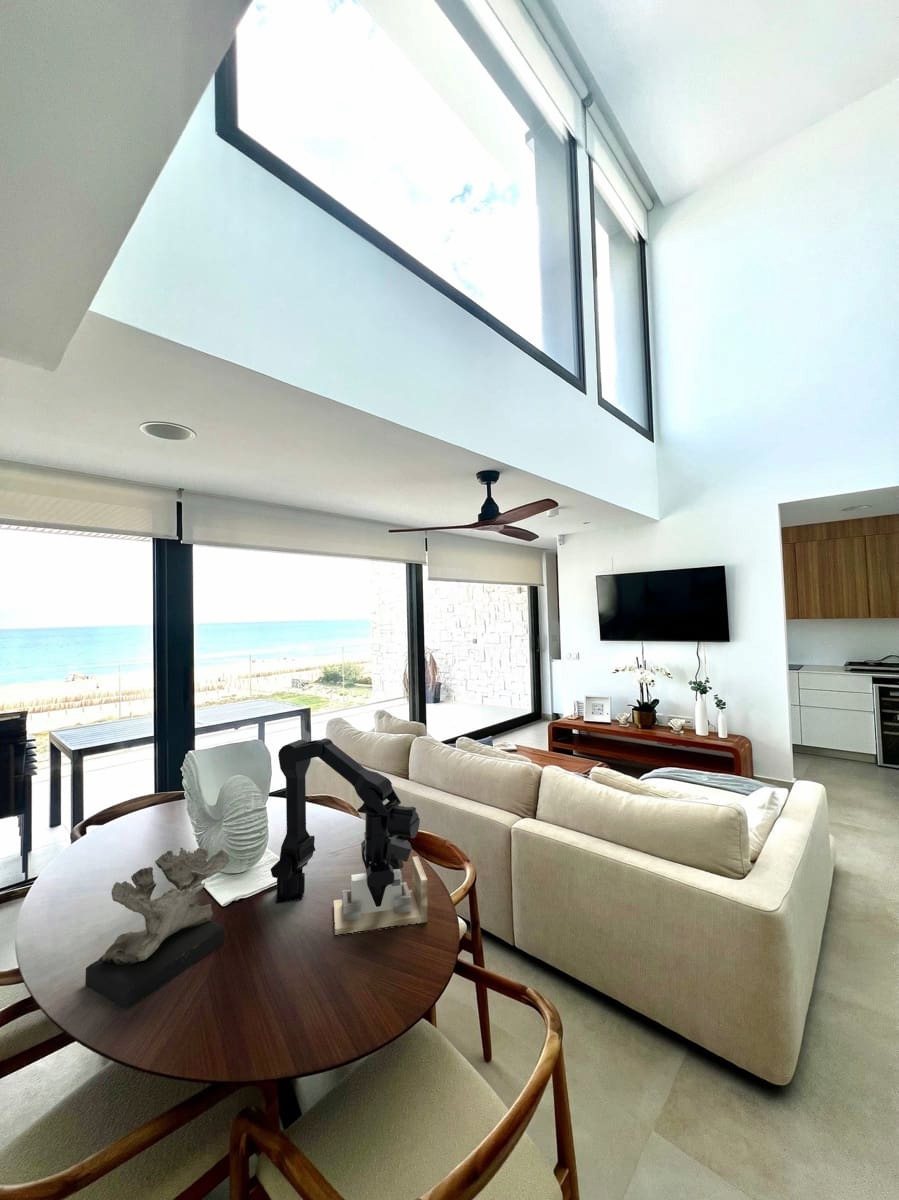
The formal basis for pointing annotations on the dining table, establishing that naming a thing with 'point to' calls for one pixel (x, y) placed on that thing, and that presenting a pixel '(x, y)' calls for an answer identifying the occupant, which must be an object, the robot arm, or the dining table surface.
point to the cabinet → (405, 910)
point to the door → (364, 896)
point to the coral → (159, 929)
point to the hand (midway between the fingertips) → (376, 895)
